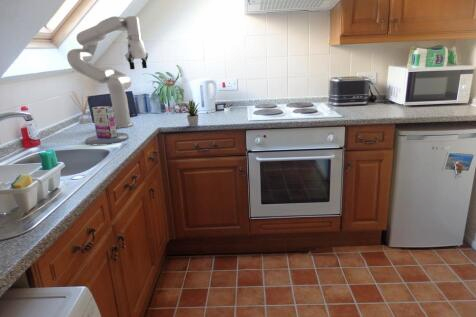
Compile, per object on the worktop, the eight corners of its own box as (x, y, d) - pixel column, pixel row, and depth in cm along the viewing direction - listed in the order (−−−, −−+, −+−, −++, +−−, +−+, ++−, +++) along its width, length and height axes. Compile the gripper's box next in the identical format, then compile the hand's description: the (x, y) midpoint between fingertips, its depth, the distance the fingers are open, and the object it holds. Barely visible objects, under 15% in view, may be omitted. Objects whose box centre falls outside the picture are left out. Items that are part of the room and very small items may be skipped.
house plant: (178, 124, 222) (175, 98, 217) (199, 121, 227) (196, 96, 222) (184, 128, 209) (181, 100, 204) (206, 125, 214) (204, 98, 210)
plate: (76, 143, 188) (76, 140, 188) (108, 134, 207) (108, 131, 206) (106, 146, 178) (105, 143, 178) (137, 136, 197) (136, 133, 196)
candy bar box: (118, 136, 192) (113, 106, 187) (111, 138, 188) (106, 107, 183) (103, 135, 197) (98, 105, 192) (96, 137, 193) (91, 107, 188)
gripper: (127, 38, 201) (131, 69, 206) (149, 38, 215) (153, 67, 220) (118, 39, 205) (123, 69, 210) (141, 39, 219) (144, 67, 224)
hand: (138, 68), depth 215 cm, fingers open, 9 cm apart
